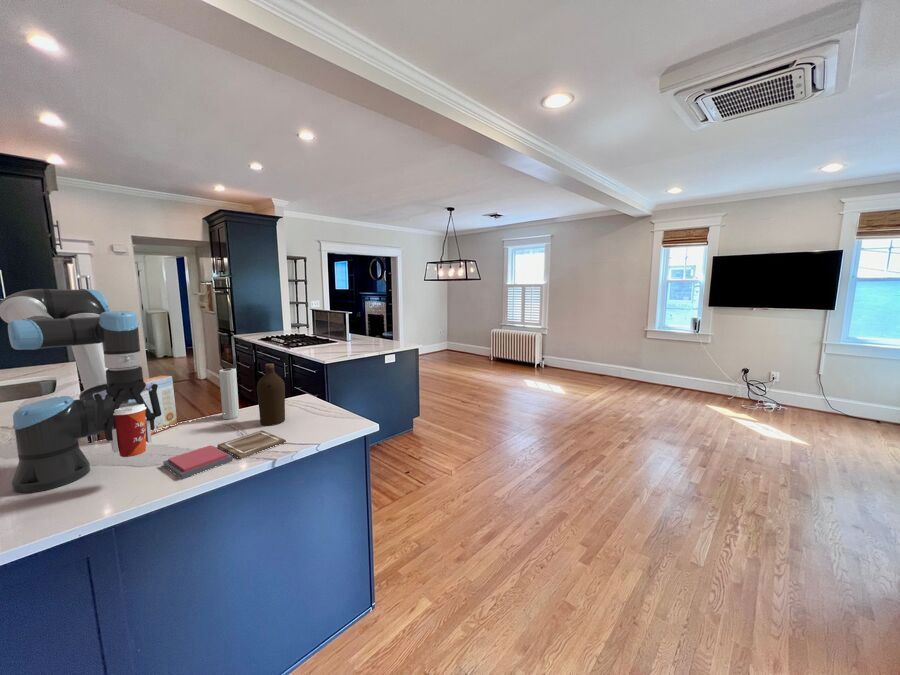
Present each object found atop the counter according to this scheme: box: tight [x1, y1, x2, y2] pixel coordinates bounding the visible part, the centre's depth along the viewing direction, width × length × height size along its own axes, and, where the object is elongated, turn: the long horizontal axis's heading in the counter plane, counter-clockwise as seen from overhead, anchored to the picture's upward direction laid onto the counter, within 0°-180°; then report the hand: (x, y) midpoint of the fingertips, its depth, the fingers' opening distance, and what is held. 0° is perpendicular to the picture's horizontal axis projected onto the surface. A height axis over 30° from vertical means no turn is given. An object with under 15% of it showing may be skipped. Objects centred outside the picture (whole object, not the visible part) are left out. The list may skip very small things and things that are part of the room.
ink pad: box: [162, 445, 234, 480], centre depth 114 cm, size 14×14×2 cm
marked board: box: [217, 429, 287, 460], centre depth 128 cm, size 16×16×1 cm
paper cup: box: [113, 402, 147, 458], centre depth 101 cm, size 8×8×14 cm
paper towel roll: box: [218, 367, 240, 420], centre depth 155 cm, size 7×6×21 cm
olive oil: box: [256, 362, 286, 427], centre depth 149 cm, size 11×11×25 cm
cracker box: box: [140, 375, 178, 435], centre depth 139 cm, size 14×6×21 cm, turn 168°
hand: (132, 445), depth 102 cm, fingers closed on paper cup, 7 cm apart
